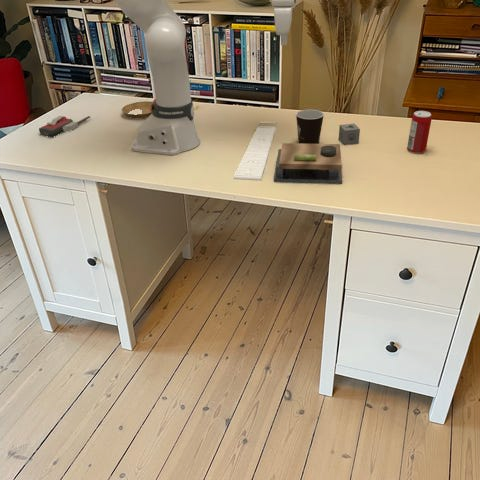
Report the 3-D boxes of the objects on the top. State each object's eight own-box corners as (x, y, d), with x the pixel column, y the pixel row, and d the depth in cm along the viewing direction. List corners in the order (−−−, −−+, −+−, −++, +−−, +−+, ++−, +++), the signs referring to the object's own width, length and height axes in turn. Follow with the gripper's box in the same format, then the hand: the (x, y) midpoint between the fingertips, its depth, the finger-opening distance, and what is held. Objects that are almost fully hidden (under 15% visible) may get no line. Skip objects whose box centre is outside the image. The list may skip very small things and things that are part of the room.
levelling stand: (273, 182, 139) (273, 169, 137) (277, 159, 151) (277, 147, 149) (342, 183, 137) (343, 170, 134) (340, 160, 149) (341, 148, 147)
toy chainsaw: (55, 140, 171) (93, 120, 186) (52, 128, 169) (90, 109, 184) (36, 137, 175) (74, 118, 189) (33, 125, 172) (72, 106, 187)
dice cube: (358, 143, 159) (360, 129, 156) (343, 145, 158) (344, 130, 155) (353, 137, 163) (354, 123, 160) (338, 139, 162) (339, 125, 159)
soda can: (429, 150, 152) (436, 113, 146) (418, 155, 150) (425, 117, 143) (414, 145, 156) (420, 108, 149) (403, 150, 153) (409, 112, 147)
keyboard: (257, 123, 178) (257, 119, 177) (279, 124, 177) (279, 119, 176) (233, 181, 142) (233, 176, 141) (261, 182, 140) (261, 177, 140)
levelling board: (279, 168, 137) (279, 158, 135) (282, 147, 148) (282, 138, 147) (341, 169, 135) (342, 159, 133) (339, 148, 146) (340, 139, 145)
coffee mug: (321, 150, 156) (322, 119, 150) (293, 148, 157) (294, 118, 152) (323, 135, 165) (325, 106, 159) (297, 134, 167) (298, 105, 161)
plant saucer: (123, 123, 183) (122, 116, 181) (121, 110, 194) (120, 103, 193) (163, 118, 185) (162, 111, 184) (159, 105, 197) (158, 99, 196)
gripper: (276, -11, 153) (276, 37, 160) (271, 0, 136) (271, 52, 144) (296, -11, 152) (295, 36, 160) (294, 0, 135) (292, 52, 143)
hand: (283, 44), depth 151 cm, fingers closed
